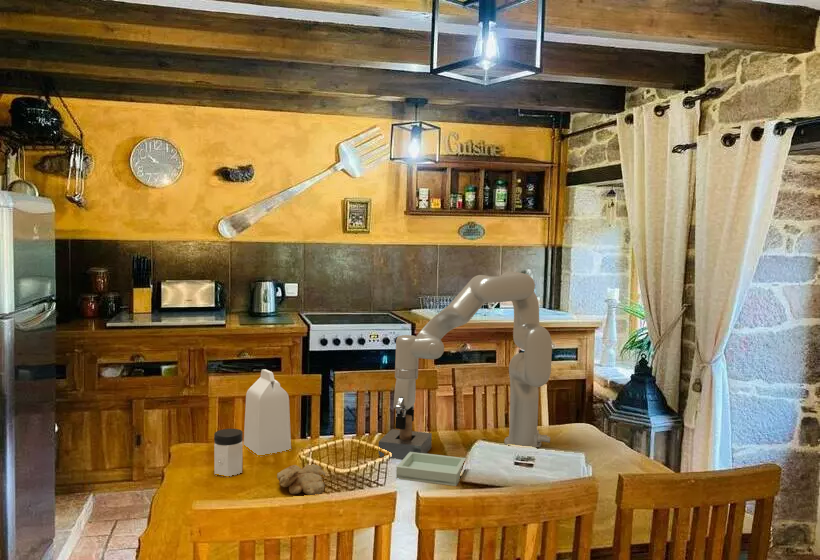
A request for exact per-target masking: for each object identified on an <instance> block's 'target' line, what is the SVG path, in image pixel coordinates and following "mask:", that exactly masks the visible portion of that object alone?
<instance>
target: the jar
mask: <svg viewBox="0 0 820 560" xmlns="http://www.w3.org/2000/svg"><path fill="white" fill-rule="evenodd" d="M213 440H214V445H213V447H214V449H213V451H214V452H213V453H214V454H213V456H214V457H213V458H214V460H213V461H214V475H215V474H219V475H224V476H230V477H233V476H232V475H234V476H237V474H238V475H241V474H240V473H243V441H244V431H243V430H241V429H237V428H225V429H220V430H216V431H215V432H214V437H213Z"/></svg>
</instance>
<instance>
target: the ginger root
mask: <svg viewBox="0 0 820 560" xmlns="http://www.w3.org/2000/svg"><path fill="white" fill-rule="evenodd" d="M322 474H323V475H324V476H325V477H326V473H325V471H324V470H323V469H322V467H321V465H320V466H318V465H315V464H312V465H309V463H307V464H306V465H305V466H303V468H301V467H300V466H298V465H297V464H293V465H290V466H288V467H285V468H284V469H282V470H281V471H280V472H277V474H276V475H277V476H276V478H277V480H278V482H279V486H281V487H283V488H287V487H288V491H289V494H292V495H297V494H300V493H301V492H302V493H305V494H306V495H308V496H310V495H314V496H316V495H315V494H318V495H320V494H322V493H323V492H324V491H325V485H326V484H325V482H322V479H323V478H322V477H321V476H320V475H322Z"/></svg>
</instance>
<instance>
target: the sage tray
mask: <svg viewBox="0 0 820 560" xmlns="http://www.w3.org/2000/svg"><path fill="white" fill-rule="evenodd" d="M465 459H466V460H467V457H461V456H460V457H459V456H450V455H442V454H433V453H427V454H425V453H417V452H409V453H408V454H407V455H406V457H405V458H404V459H401V461H400V462H399V464H397V466H396V470H395V471H396V477H395V478H396V479H397V478H399V479H398V480H405V481H414V482H421V483H428V484H429V483H430V484H436V485H437V484H438V485H445V486H446V485H447V486H453V487H454V486H455V487H457V486H458V484H459V482H460V480H461V479H460V472H461V469H462V466H463V463H464V461H465ZM459 479H460V480H459Z"/></svg>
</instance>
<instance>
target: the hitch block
mask: <svg viewBox="0 0 820 560" xmlns="http://www.w3.org/2000/svg"><path fill="white" fill-rule="evenodd" d="M432 435H433V434H432V432H424V431H422V432H421V431H414V430H412V441H410V440H401V439H400V429H396V428H391V429H390V430H389V431H388V432H387V433H386V434H385V435H384V436H383V437H382V438H381V439H380V440H378V448H379V447H380V448H382V449H385V450H387V451H389V452H391V453H392V457H391V458H390V459H394V458H396V459H397V460H403V459H404V458H405V457H406V455H407V454H408V453H409V452H417V453H425V454H429V453H428V452H429V451H430V450H431V448H432ZM378 454H379V455H380V457H379V458H383V457H382V456H384V453H382V452H380V451H379V450H378ZM396 459H395V460H396Z"/></svg>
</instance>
